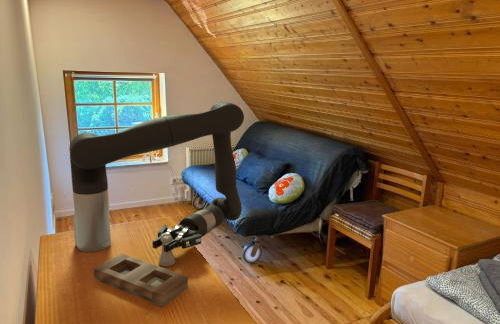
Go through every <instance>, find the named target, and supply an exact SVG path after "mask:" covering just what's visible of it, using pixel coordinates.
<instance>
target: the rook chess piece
mask: <svg viewBox="0 0 500 324" xmlns="http://www.w3.org/2000/svg"><path fill="white" fill-rule="evenodd" d="M160 240H161V242H162V244H161V253H160V255H159V257H158V263H159V266H160V267H163V268H165V267H171V266H173V265H174V264H175V263H176V257H175V255H174V253H173V250H171V251H169V252H164V245H165V244H166V243H168V242H169V241H171V240H173V238H172V237H171V235H169V236H168V234H167V236H165V234H164V235H162V238H161V239H160Z"/></svg>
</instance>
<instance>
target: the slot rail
mask: <svg viewBox="0 0 500 324" xmlns="http://www.w3.org/2000/svg"><path fill="white" fill-rule="evenodd" d="M93 279H94V280H96V281H98V282H101V283H103V284H105V285H108V286H110V287H112V288H114V289H117V290H120V291H122V292H124V293H127V294H130V295H132V296H135V297H137V298H140V299H141V300H144V301H147V302H149V303H151V304H154V305H156V306H159V307H162V308H164V307H166V305H168V304H169V303H170V302H172V300H175V299H176V298H177V297H178V296H179V295H181V294H182V293H183V292H184V291H185V290H187V289H188V288H189V276H188V275H185V274H183V273H182V274H181V273H180V272H176V271H174V270H170V269H167V268H165V267H163V266H160V265H156V264H153V263H151V262H147V261H145V260H142V259H139V258H136V257H133V256H130V255H127V254H124V253H120V254H118V255H116V256H114V257H113V258H110V259H109V260H106V261H105V262H102V263H100V264H99V265H97V266H95V267H93Z"/></svg>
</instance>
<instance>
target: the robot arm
mask: <svg viewBox="0 0 500 324" xmlns="http://www.w3.org/2000/svg"><path fill="white" fill-rule="evenodd" d="M244 119H245V113H244V111H243V110H242V108H241V107H240V106H238V105H237V104H235V103H233V102H226V101H218V102H216V103H214V104H213V105H212V106H211V107H210V109H209V110H207V111H202V112H198V113H197V112H196V113H181V114H171V115H166V116H161V117H156V118H153V119H149V120H145V121H143V122H140V123H138V124H136V125H134V126H131V127H130V128H127V129H125V130H123V131H118V132H115V133H109V134H108V133H107V134H105V135H103V134H102V135H97V134H95V133H93V132H82V133H79V134H77V135H76V136H74V137H73V138H72V140H71V141H70V144H69V160H70V172H71V174H70V175H71V186H72V197H73V199H72V200H73V208H74V209H73V211H74V214H72V221H73V222H72V223H73V233H74V235H73V236H74V245H75V246H77V247H76V248H77V249H78V251H81V252H85V253H91V252H92V253H93V252H94V253H95V252H98V251H103V250H105V249H107V248H108V247H109V246H111V244H112V237H111V235H112V234H111V219H110V203H109V201H110V200H109V199H110V198H109V183H108V176H107V167H106V166H107V165H108V164H111V163H114V162H116V161H119V160H121V159H125V158H127V157H131V156H138V155H142V154H147V153H151V152H154V151H155V152H156V151H160V150H163V149H167V148H171V147H174V146H175V147H176V146H178V145H182V144H184V143H188V142H191V141H194V140H197V139H200V138H202V137H203V138H204V137H208V136H212V141H213V150H214V151H213V152H214V166H215V167H214V168H215V169H214V170H215V171H214V173H215V177H214V179H215V190H216V191H217V192H218V193H219V194H222V195H223V196H224V197H216V198H213V200H212V201H211V202H210V203H209V204H208V205H207V207H205V208H202V209H201V210H198V211H195V212H193V213H191V214H189V215H187V216H185V217H183V218H182V219H181V220H180V222H179V223H178V224H177V225H173V226H172V227H168V226H169V225H168V224H163V225H162V226H161V228H159V230H158V231H157V237H156V238H155V239H153V240H152V243H151V244H152V248H153V249H158V248H160V247H162V245H161V244H162V242H161V240H160V239H161V238H162V235H164V234H165V236H167V234H168V236H169V235H171V237H172V238H173V240H171V241H169V242H168V243H166V244H165V245H164V252H169V251H171V250H172V251H173V250H174V249H179V248H181V249H183V250H185V249H188V248H191V247H194V246H198V245H201V244H202V238H203V237H204V236H206V235H207V234H209V233H210V232H211V231H213V230H214V229H216V228H217V227H219V226H220V225H222V223H223V222H224V220H227V221H237V220H238V219H240V217H241V214H242V211H243V209H242V208H243V207H242V200H241V199H240V196H239V195H240V194H239V191H238V187H237V186H238V185H237V166H236V161H235V157H234V156H235V155H234V153H233V147H232V138H231V134H232V132H235V131H237V130H238V129H239V128H240V127H241V126H242V124H243V123H244Z"/></svg>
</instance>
